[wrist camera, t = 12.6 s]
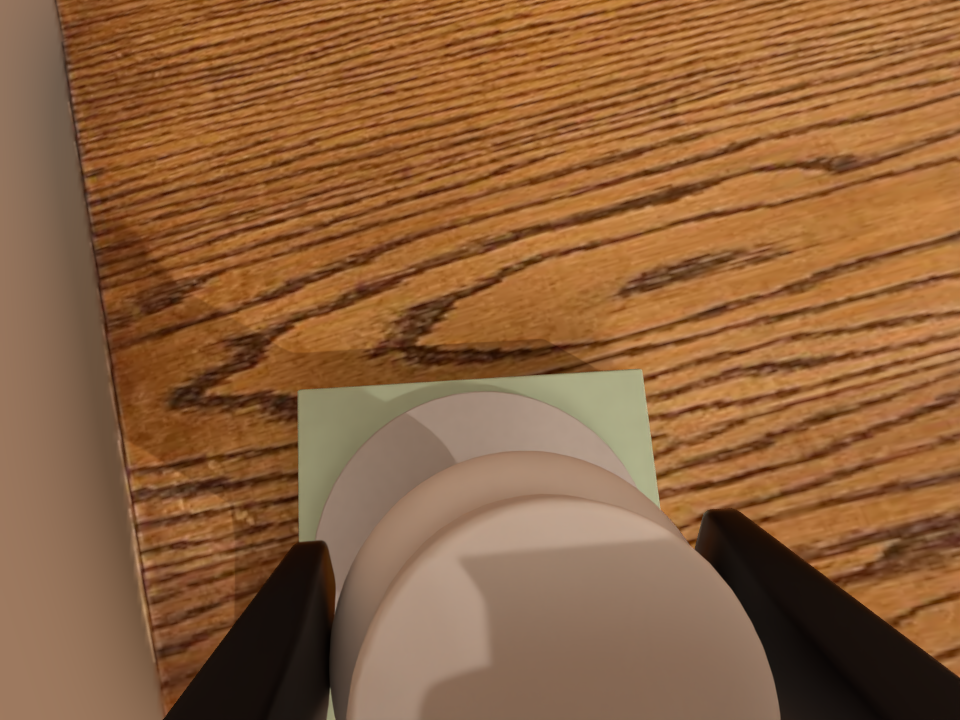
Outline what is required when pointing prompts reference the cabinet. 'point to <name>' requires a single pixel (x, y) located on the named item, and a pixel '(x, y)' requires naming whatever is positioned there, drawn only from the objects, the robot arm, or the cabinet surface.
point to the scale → (453, 442)
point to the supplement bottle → (539, 606)
